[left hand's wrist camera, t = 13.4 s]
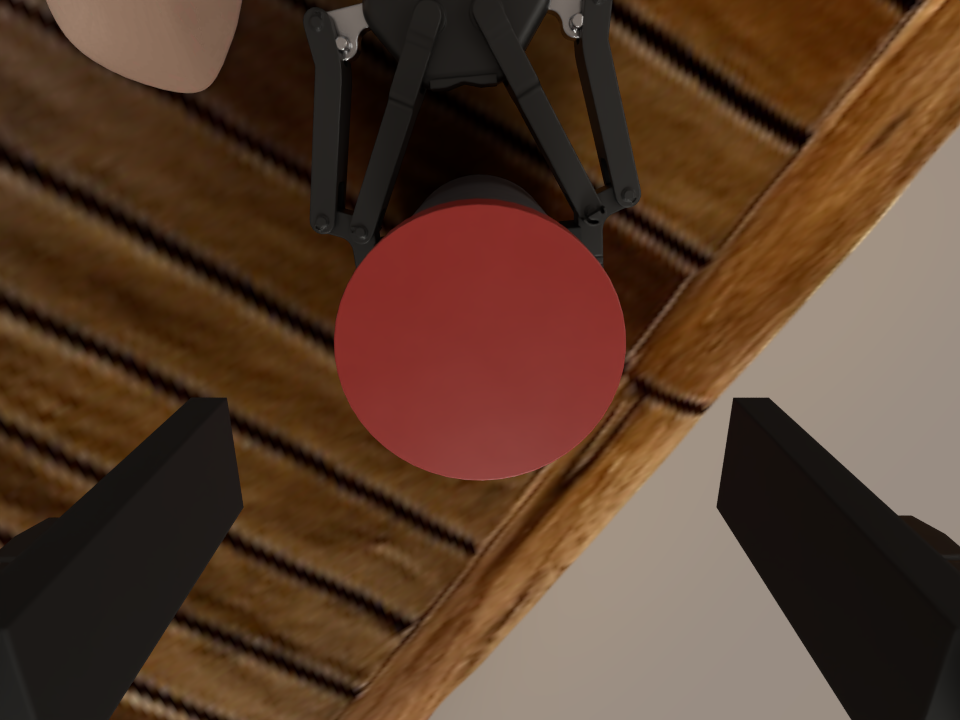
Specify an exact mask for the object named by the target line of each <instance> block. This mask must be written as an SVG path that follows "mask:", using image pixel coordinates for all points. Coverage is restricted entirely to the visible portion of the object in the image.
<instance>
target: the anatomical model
mask: <svg viewBox="0 0 960 720" xmlns="http://www.w3.org/2000/svg"><path fill="white" fill-rule="evenodd" d="M46 1H47V4H48V6H49V8H50V10H51V12H52V14H53V16H54V18H55V20H56V22H57V23H58V25H59V27H60V28H61V30H62V31H63V33H64V34H65V35H66V37H67V38H68V39H69V40H70V41H71V42H72V43H73V45H74V46H75V47H77V48H78V49H79V50H80V51H81V52H82V53H83V54H85V55H86V56H88V57H89V58H90V59H92V60H93V61H95V62H97V63H98V64H100V65H102V66H103V67H105V68H107V69H109V70H111V71H113V72H115V73H117V74H119V75H122V76H124V77H126V78H129V79H132V80H135V81H137V82H140V83H143V84H146V85H149V86H153V87H156V88H160V89H163V90H169V91H174V92H181V93H196V92H200V91H202V90H205V89H206V88H208V87H209V86H210V85H211V84H212V83H213V81H214V80H215V78H216V77H217V75H218V73H219V71H220V69H221V67H222V65H223V63H224V60H225V58H226V55H227V53H228V50H229V47H230V45H231V42H232V39H233V37H234V34H235V30H236V27H237V24H238V19H239V14H240V9H241V4H242V0H46Z"/></svg>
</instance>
